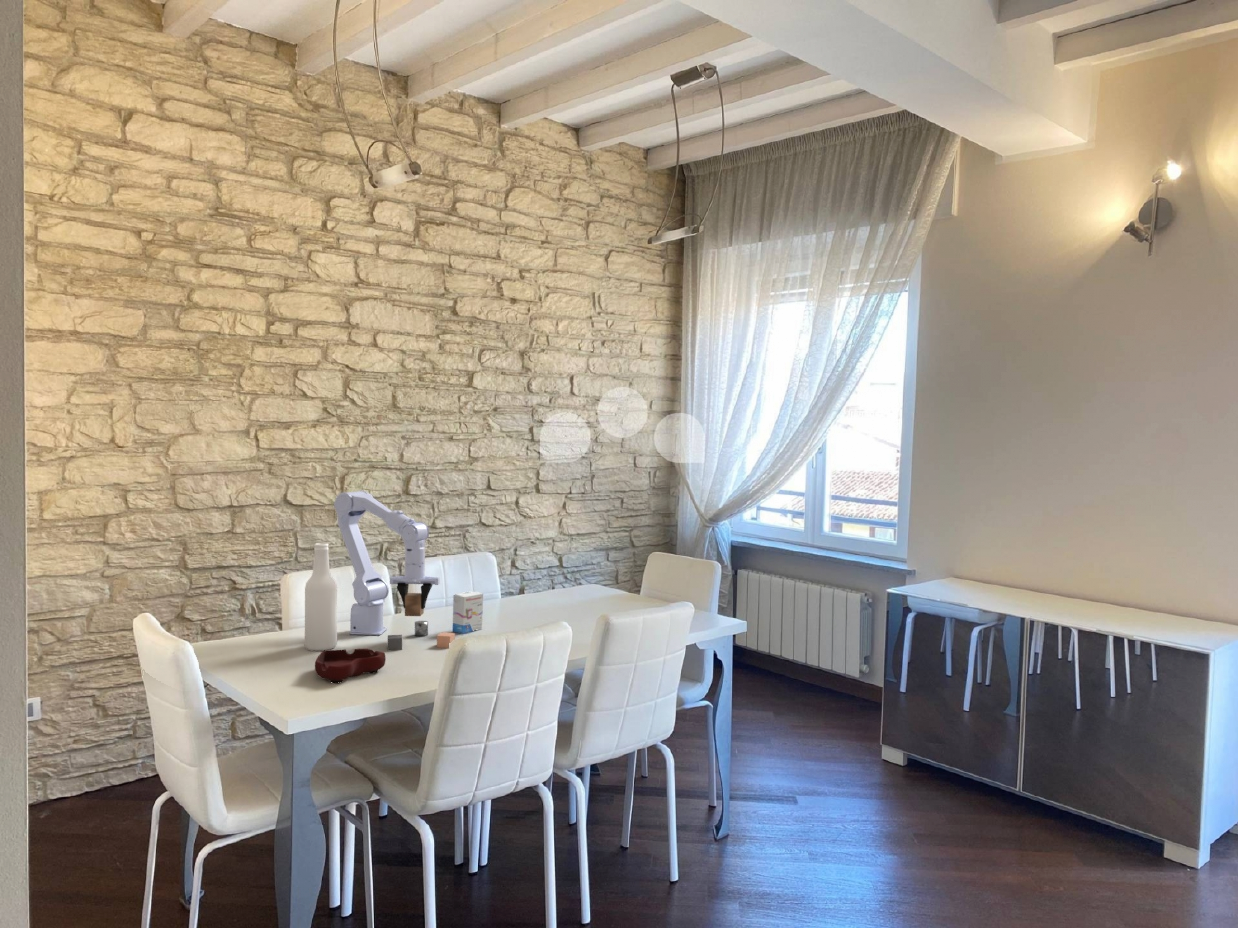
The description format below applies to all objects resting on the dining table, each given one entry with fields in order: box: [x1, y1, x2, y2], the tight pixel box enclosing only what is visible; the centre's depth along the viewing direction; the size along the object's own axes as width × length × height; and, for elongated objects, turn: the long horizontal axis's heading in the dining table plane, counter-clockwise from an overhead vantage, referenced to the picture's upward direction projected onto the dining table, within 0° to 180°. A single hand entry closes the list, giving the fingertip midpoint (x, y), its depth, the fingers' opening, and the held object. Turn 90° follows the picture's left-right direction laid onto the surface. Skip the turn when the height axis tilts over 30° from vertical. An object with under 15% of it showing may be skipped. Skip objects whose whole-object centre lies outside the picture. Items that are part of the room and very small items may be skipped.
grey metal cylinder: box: [414, 620, 429, 638], centre depth 272 cm, size 4×4×4 cm
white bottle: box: [304, 542, 338, 652], centre depth 254 cm, size 9×9×30 cm
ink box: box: [452, 590, 484, 634], centre depth 278 cm, size 9×5×12 cm, turn 143°
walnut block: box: [404, 592, 425, 617], centre depth 266 cm, size 5×5×6 cm
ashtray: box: [314, 648, 387, 684], centre depth 230 cm, size 18×16×5 cm
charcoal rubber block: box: [387, 634, 403, 651], centre depth 256 cm, size 4×4×4 cm
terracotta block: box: [436, 631, 456, 649], centre depth 260 cm, size 4×4×4 cm
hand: (414, 607), depth 266 cm, fingers closed on walnut block, 5 cm apart
